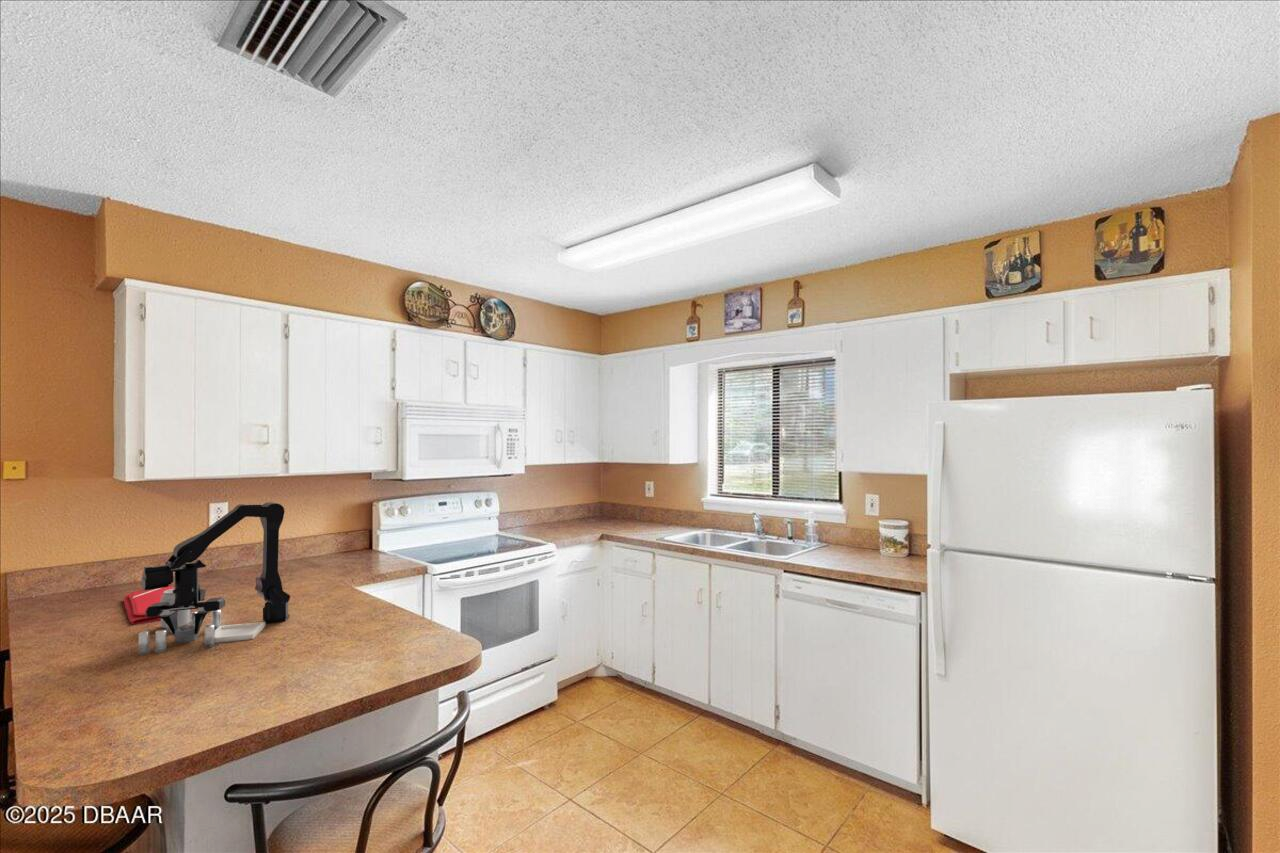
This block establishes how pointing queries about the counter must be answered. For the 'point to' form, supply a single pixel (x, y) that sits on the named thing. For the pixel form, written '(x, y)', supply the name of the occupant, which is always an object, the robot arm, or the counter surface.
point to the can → (183, 615)
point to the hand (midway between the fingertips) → (186, 634)
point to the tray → (237, 632)
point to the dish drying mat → (143, 604)
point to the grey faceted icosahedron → (185, 634)
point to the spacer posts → (161, 634)
